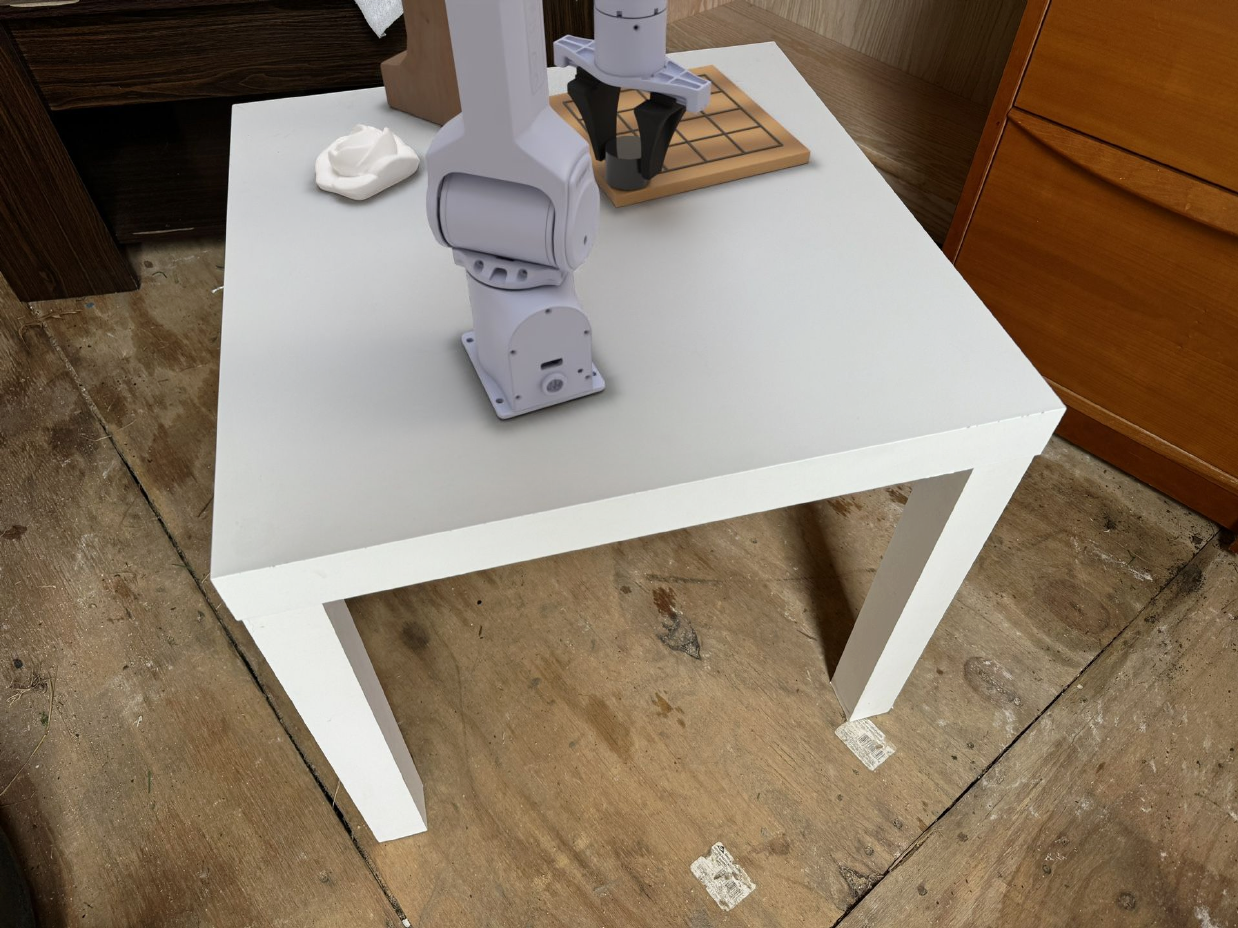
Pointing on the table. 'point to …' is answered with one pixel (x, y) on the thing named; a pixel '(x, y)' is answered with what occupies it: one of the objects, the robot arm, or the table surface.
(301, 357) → the table surface
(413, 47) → the wooden block
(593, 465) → the table surface
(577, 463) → the table surface
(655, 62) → the robot arm
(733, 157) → the board
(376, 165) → the rose
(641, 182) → the dark grey cylinder puck
